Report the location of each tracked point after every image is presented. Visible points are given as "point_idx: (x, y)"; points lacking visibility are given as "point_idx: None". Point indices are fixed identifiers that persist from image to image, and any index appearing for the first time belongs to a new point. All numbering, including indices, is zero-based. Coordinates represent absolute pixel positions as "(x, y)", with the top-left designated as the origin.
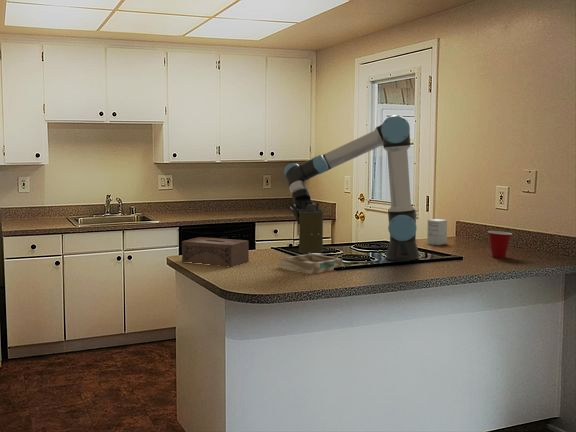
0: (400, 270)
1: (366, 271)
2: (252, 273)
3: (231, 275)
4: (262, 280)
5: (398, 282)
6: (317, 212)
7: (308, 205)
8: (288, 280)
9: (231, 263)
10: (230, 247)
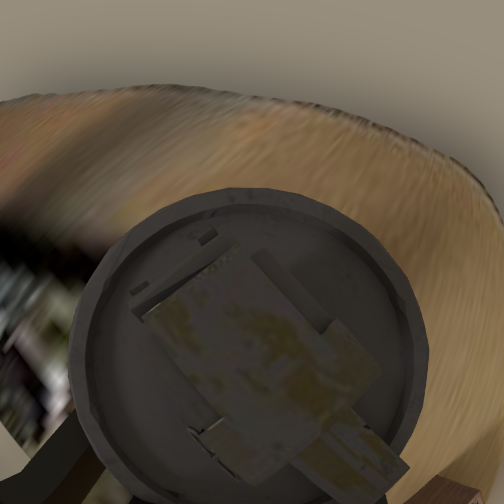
0: (66, 170)
1: (130, 202)
2: (441, 371)
3: (481, 366)
4: (450, 269)
5: (185, 89)
6: (267, 191)
7: (356, 348)
8: (400, 230)
9: (443, 478)
10: (475, 490)
